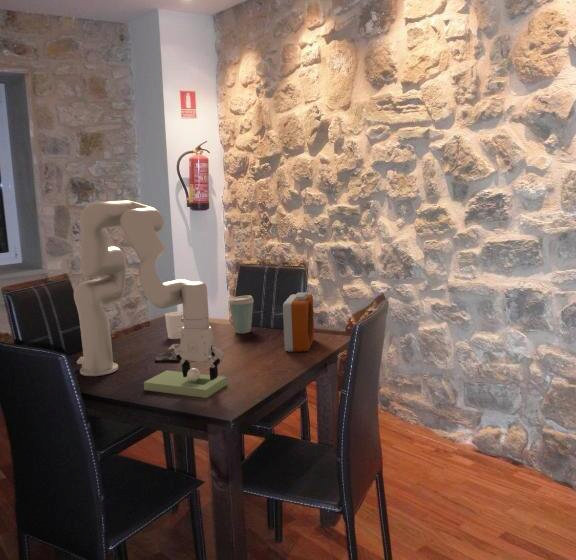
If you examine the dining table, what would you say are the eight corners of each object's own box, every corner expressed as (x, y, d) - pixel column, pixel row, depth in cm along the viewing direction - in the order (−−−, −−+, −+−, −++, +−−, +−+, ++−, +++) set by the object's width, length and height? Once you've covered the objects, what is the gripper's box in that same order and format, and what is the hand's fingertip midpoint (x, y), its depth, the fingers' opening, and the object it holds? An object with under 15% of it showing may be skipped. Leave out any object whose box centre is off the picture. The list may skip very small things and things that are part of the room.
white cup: (180, 340, 239) (178, 316, 237) (163, 339, 241) (161, 315, 239) (189, 335, 246) (187, 311, 244) (172, 334, 248) (170, 311, 247)
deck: (144, 389, 181) (143, 382, 181) (167, 377, 192) (166, 370, 191) (206, 398, 172) (206, 389, 171) (226, 384, 183) (226, 377, 182)
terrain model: (195, 364, 207) (194, 356, 206) (154, 364, 209) (154, 355, 209) (211, 348, 227) (211, 340, 226) (174, 348, 229) (173, 340, 229)
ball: (197, 375, 177) (191, 385, 178) (204, 371, 180) (199, 381, 182) (187, 367, 178) (182, 377, 179) (195, 363, 181) (189, 373, 183)
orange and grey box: (308, 352, 213) (306, 297, 210) (284, 352, 215) (282, 297, 211) (314, 339, 231) (312, 288, 228) (292, 339, 233) (290, 288, 229)
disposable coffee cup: (231, 335, 242) (229, 300, 239) (229, 329, 252) (227, 295, 250) (257, 333, 244) (255, 298, 241) (253, 327, 254) (251, 293, 252)
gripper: (165, 324, 176) (169, 378, 179) (214, 327, 169) (218, 384, 172) (179, 318, 183) (183, 371, 186) (227, 321, 176) (230, 376, 179)
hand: (200, 377), depth 179 cm, fingers open, 9 cm apart
